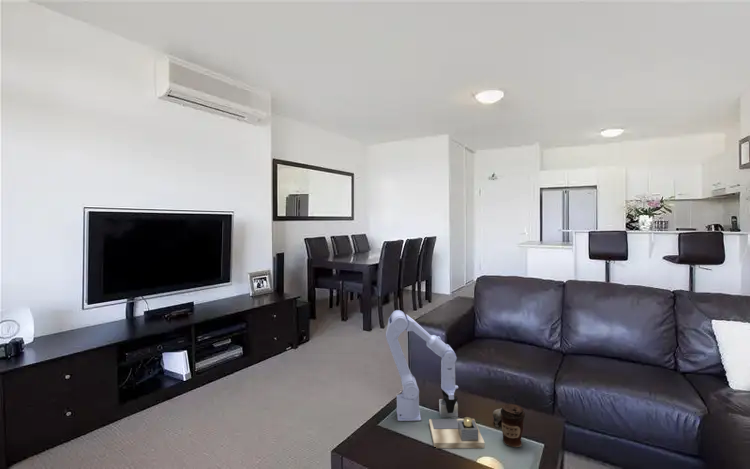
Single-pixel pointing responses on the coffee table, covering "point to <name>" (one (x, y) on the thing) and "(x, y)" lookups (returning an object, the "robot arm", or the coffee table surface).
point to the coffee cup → (512, 424)
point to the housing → (444, 409)
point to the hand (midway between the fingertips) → (448, 407)
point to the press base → (455, 434)
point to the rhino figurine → (497, 416)
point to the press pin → (467, 422)
